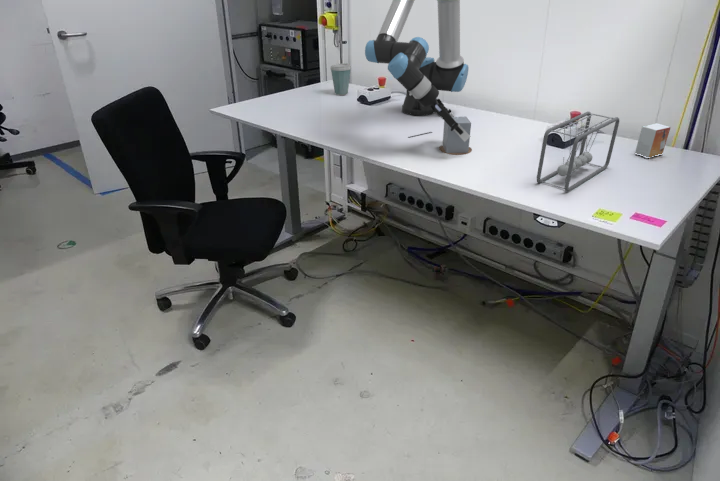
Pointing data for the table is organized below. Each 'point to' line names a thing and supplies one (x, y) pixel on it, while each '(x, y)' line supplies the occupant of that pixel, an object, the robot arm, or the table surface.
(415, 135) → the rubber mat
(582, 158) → the newton's cradle
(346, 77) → the disposable coffee cup
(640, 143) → the small box
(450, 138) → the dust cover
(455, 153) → the walnut coaster
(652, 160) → the table surface
